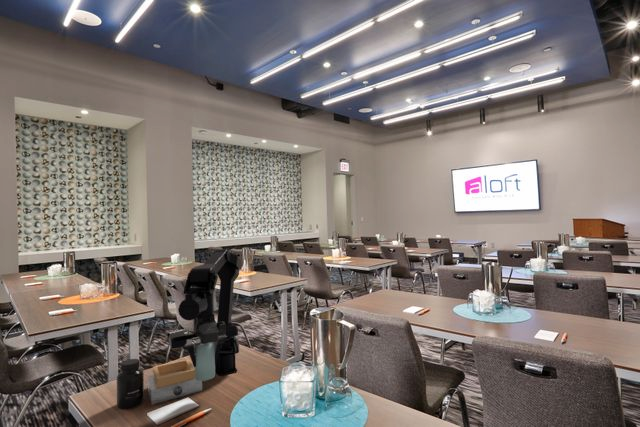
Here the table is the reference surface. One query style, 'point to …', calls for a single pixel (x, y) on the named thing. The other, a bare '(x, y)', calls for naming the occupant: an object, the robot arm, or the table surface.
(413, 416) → the table surface
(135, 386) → the supplement bottle
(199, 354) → the tin can
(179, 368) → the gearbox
